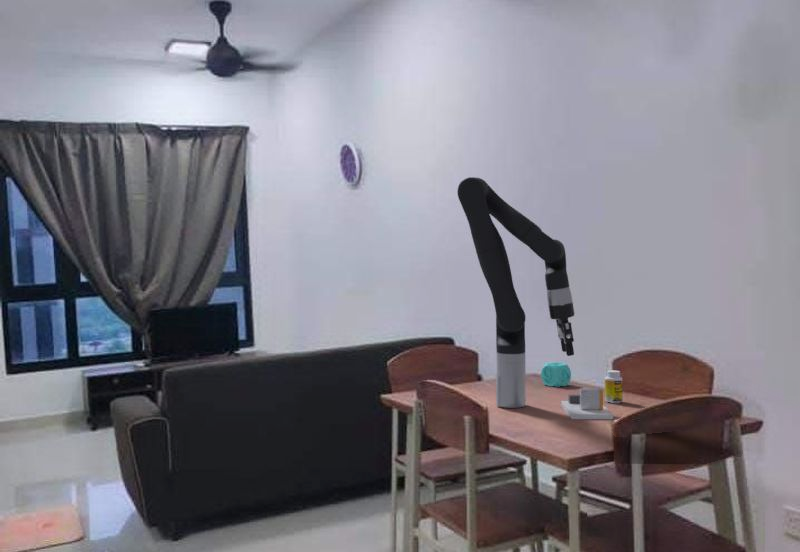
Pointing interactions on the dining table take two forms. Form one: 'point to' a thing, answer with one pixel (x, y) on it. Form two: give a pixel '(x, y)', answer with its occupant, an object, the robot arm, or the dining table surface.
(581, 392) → the white orange box
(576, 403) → the base
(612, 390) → the supplement bottle
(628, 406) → the dining table surface
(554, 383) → the decorative dice
